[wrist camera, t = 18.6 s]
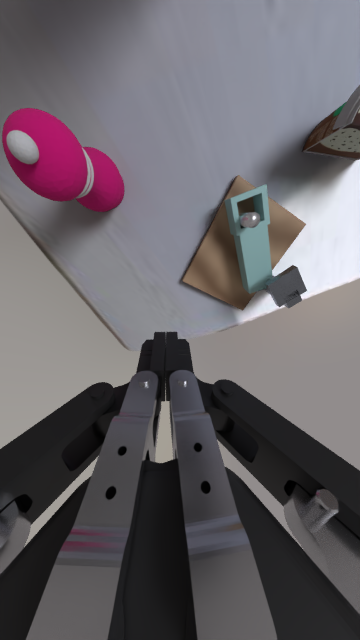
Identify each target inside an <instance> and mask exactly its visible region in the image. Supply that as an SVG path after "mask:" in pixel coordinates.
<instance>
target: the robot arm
mask: <svg viewBox="0 0 360 640" xmlns="http://www.w3.org/2000/svg"><path fill="white" fill-rule="evenodd" d="M165 384H166V401H170V423H171V435H172V447H173V460H171V461H168V462H165V463H156V462H155V451H156V443H157V435H158V427H159V420H160V411H161V401H165ZM217 439H218V440H219V441H220V442H221V443H222V444H223V446H225V447H226V448H227V449H228V451H229V452H230V453H231V454H232V455H233V456H234V457H235V458H237V460H238V461H239V462H240V463H241V464H242V465H243V466H244V467H245V468H246V469H247V470H248V471H249V472H250V473H251V474H252V475H253V476H254V477H255V478H256V479H257V480H258V481H259V482H260V483H261V484H262V485H263V486H264V487H265V488H266V489H267V490H268V491H269V492H270V493H271V494H272V495H273V496H274V497H275V498H276V499H277V500H278V501H279V502H280V503H281V504H282V505H283V506H284V514H285V519H286V522H287V524H288V526H289V528H290V530H291V531H292V534H293V535H294V536H295V538H296V539H297V540H298V542H299V543H300V544H301V546H302V547H303V549H304V550H303V549H302V548H301V547H300V546H299V544H298V543H297V542H296V541H295V540H294V539H293V538H292V537H291V536H290V534H289V533H288V532H287V531H286V530H285V529H284V527H283V526H282V525H281V524H280V523H279V522H278V520H277V519H276V518H275V517H274V516H273V515H272V514H271V512H270V511H269V510H268V509H267V508H266V507H265V506H264V504H262V502H261V501H260V500H259V499H258V498H257V497H256V495H255V494H254V493H253V492H252V491H251V490H250V489H249V488H248V486H247V485H246V484H245V483H244V482H243V481H242V480H241V478H239V477H238V476H237V475H236V474H235V473H234V472H233V471H231V470H230V469H228V468H227V467H225V466H224V463H223V460H222V456H221V453H220V449H219V445H218V442H217ZM98 456H99V457H98ZM96 457H98V460H97V462H96V465H95V468H94V471H93V473H92V476H91V477H89V478H88V479H87V480H86V481H85V482H83V483H82V484H81V485H80V486H79V487H78V488H77V489H76V490H75V491H74V492H73V493H72V495H71V496H70V497H69V498H68V499H67V500H66V501H65V502H64V504H63V505H62V506H61V507H60V508H59V509H58V510H57V511H56V512H55V514H54V515H53V516H52V517H51V518H50V519H49V520H48V521H47V523H46V524H45V525H44V526H43V527H42V528H41V529H40V530H39V532H38V533H37V534H36V535H35V536H34V537H33V538H32V539H31V541H30V542H29V543H28V544H27V545H26V546H25V547H24V545H25V543H26V541H27V539H28V536H29V532H30V526H31V524H32V523H33V522H34V521H35V520H36V519H37V518H38V517H39V516H40V515H41V514H42V513H43V512H44V511H45V510H46V509H47V508H48V507H49V506H50V505H51V504H52V503H53V502H54V501H55V499H57V498H58V497H59V496H60V495H61V494H62V492H64V491H65V489H66V488H67V487H68V486H69V485H70V484H71V483H72V482H73V481H74V480H75V479H76V478H77V477H78V476H79V475H80V474H81V473H82V472H83V471H84V470H85V469H86V468H87V467H88V466H89V465H90V464H91V462H93V461H94V460H95V459H96ZM0 640H360V471H359V470H358V469H356V468H355V467H354V466H352V465H351V464H349V463H348V462H346V461H345V460H344V459H342V458H341V457H339V456H338V455H336V454H335V453H334V452H332V451H331V450H329V449H328V448H326V447H325V446H324V445H322V444H321V443H319V442H318V441H317V440H315V439H314V438H312V437H311V436H310V435H308V434H307V433H305V432H304V431H302V430H301V429H299V428H298V427H297V426H295V425H294V424H292V423H291V422H290V421H288V420H287V419H285V418H284V417H283V416H281V415H280V414H278V413H277V412H276V411H274V410H273V409H271V408H270V407H268V406H267V405H266V404H264V403H263V402H261V401H260V400H258V399H257V398H256V397H254V396H253V395H251V394H250V393H248V392H247V391H246V390H244V389H243V388H241V387H240V386H238V385H237V384H236V383H234V382H232V381H230V380H218V381H217V382H215V383H214V385H213V384H209V383H204V382H202V381H200V380H199V379H197V378H196V376H195V375H194V372H193V366H192V360H191V354H190V347H189V343H188V342H187V341H186V340H185V339H178V337H177V332H155V333H154V340H146V341H145V342H144V343H143V344H142V348H141V353H140V358H139V363H138V367H137V372H136V374H135V375H134V376H133V377H132V378H131V381H130V382H129V383H127V384H125V385H122V386H118V387H115V388H113V387H112V385H111V384H109V383H105V382H101V383H96V384H94V385H92V386H90V387H89V388H87V389H86V390H84V391H83V392H81V393H80V394H78V395H77V396H76V397H74V398H73V399H71V400H70V401H69V402H67V403H66V404H64V405H63V406H61V407H60V408H58V409H57V410H56V411H54V412H53V413H51V414H50V415H49V416H47V417H46V418H44V419H43V420H41V421H40V422H38V423H37V424H36V425H34V426H33V427H31V428H30V429H28V430H27V431H26V432H24V433H23V434H21V435H20V436H18V437H17V438H16V439H14V440H13V441H11V442H10V443H8V444H7V445H6V446H4V447H3V448H1V449H0Z"/></svg>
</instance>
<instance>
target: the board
mask: <svg viewBox="0 0 360 640" xmlns="http://www.w3.org/2000/svg"><path fill="white" fill-rule="evenodd" d="M254 188H255V187H254V186H253V185H251V184H250V183H249V182H247V181H246V180H244V179H243V178H242V177H240V176H239V175H238V176H236V177H235V179H234V181H233V183H232V185H231V187H230V189H229V191H228V193H227V195H226V196H225V198H224V200H227V199H229V198H232V197H234V196H237V195H239V194H242V193H244V192H247V191H249V190H252V189H254ZM224 200H223V202H222V204H221V206H220V208H219V210H218V212H217V214H216V216H215V217H214V219H213V221H212V223H211V225H210V227H209V229H208V231H207V233H206V235H205V237H204V238H203V240H202V242H201V244H200V246H199V248H198V250H197V252H196V254H195V256H194V258H193V260H192V261H191V263H190V265H189V267H188V269H187V271H186V273H185V275H184V277H183V279H182V281H183V282H185V283H187V284H190V285H192V286H194V287H196V288H198V289H200V290H202V291H204V292H206V293H208V294H210V295H212V296H214V297H216V298H218V299H220V300H222V301H224V302H226V303H229V304H231V305H233V306H235V307H237V308H239V309H241V310H243V309H244V308H245V307H246V305H247V304H248V303H249V301H250V300H251V298H252V297H253V296H254V294H255V293H256V292H254V293H251V294H249V293H248V292H247V291H246V290H245V289H244V288H243V284H242V279H241V273H240V268H239V262H238V257H237V251H236V246H235V240H234V235H232V234H231V233H230V228H229V222H228V217H227V212H226V206H225V201H224ZM268 204H269V216H270V224H268V225H267V226H268V236H269V247H270V257H271V268H272V270H273V268H274V267H275V266H276V264H277V263H278V262H279V260H280V259H281V258H282V256H283V255H284V254H285V252H286V251H287V249H288V248H289V247H290V245H291V244H292V243H293V241H294V240H295V239H296V237H297V236H298V234H299V233H300V232H301V230H302V229H303V228H304V226H305V225H306V224H305V223H304V222H303V221H301V220H300V219H298V218H297V217H296V216H294V215H293V214H292V213H290V212H289V211H287V210H286V209H285V208H283V207H282V206H280V205H279V204H278V203H276V202H275V201H273V200H272V199H271V198H269V197H268ZM237 207H238V213H249V212H255V211H254V203H253V196H252V197H249V198H247V199H244V200H242V201H239V202H237Z"/></svg>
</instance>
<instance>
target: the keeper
mask: <svg viewBox="0 0 360 640" xmlns="http://www.w3.org/2000/svg"><path fill="white" fill-rule="evenodd" d="M265 285H266V287H267V288H266V291H267V292H268V293H269V294H271V296H272V298H273V300H274V302H275V304H276V305H277V306H278V307H281V306H282V305H285V306H286V307H288V308H290V307H292V306H293V305H295V304H297V303H298V302H300V301H302V299H301V296H300V295H301V294H302V293H304V292H306V291H307V290H306V287H305V285H304V282H303V280H302V278H301V275H300V273H299V270H298V268H297V267H296V266H293V265H292V266H291V267H289V268H288V269H286V270H285V271H283V272H282V273H280V274H279V275H277V276H275V277H274V276H272V279H271V280H269V281H268V282H266V283H265Z"/></svg>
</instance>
